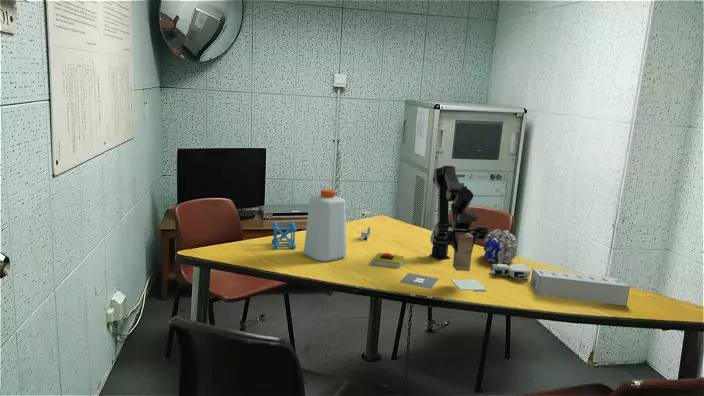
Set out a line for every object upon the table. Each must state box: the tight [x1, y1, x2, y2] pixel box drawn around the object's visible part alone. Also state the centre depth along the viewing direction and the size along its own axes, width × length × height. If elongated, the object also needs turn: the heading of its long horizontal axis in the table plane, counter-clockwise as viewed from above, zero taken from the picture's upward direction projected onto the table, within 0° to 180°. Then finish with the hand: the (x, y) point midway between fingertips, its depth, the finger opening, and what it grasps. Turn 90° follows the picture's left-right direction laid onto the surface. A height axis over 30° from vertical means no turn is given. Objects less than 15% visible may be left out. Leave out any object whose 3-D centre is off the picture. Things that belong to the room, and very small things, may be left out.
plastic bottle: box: [303, 189, 347, 263], centre depth 205 cm, size 15×15×28 cm
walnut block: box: [452, 232, 473, 272], centre depth 180 cm, size 5×5×13 cm
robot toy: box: [490, 263, 531, 281], centre depth 197 cm, size 12×4×15 cm
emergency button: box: [368, 252, 405, 269], centre depth 203 cm, size 9×4×15 cm
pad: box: [450, 278, 487, 292], centre depth 183 cm, size 10×10×1 cm
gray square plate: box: [399, 272, 439, 289], centre depth 185 cm, size 12×12×1 cm
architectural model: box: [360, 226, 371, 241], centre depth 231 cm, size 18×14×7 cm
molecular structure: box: [271, 221, 298, 250], centre depth 217 cm, size 10×10×10 cm
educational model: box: [483, 228, 518, 264], centre depth 216 cm, size 14×20×15 cm
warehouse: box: [530, 268, 631, 307], centre depth 182 cm, size 30×14×8 cm, turn 79°
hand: (463, 252), depth 179 cm, fingers closed on walnut block, 5 cm apart
